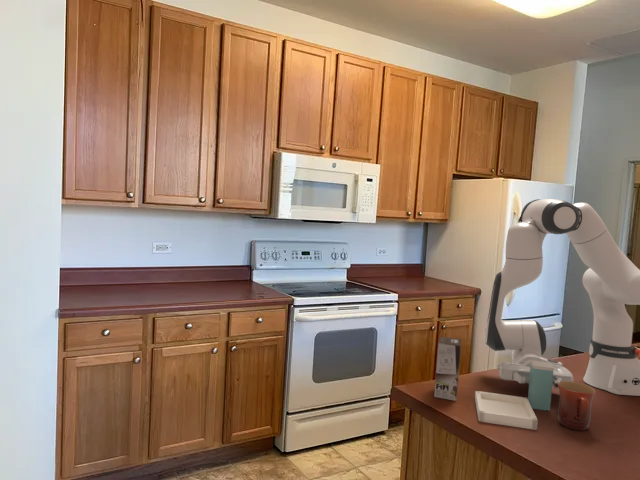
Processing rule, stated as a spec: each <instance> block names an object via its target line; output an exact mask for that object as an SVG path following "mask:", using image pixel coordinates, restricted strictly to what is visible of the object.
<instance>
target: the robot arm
mask: <svg viewBox="0 0 640 480" xmlns="http://www.w3.org/2000/svg"><path fill="white" fill-rule="evenodd" d="M517 222H518V223H517ZM517 222H516V223H513V225H511V226H510V227H509V228H508V229H507V234H506V240H505V241H506V242H505V262H504V265H503V267H502V269H501V271H500V272H498V273H496V275H495V277H494V280H493V285H492V291H491V295H490V297H491V298H490V304H489V309H488V315H487V321H486V324H485V327H484V333H483V338H484V341H485V345H486V346H487V347H488V348H490V349H492V350H493V351H495V352H500V351H501V352H502V351H508V350H509V351H512V353H511V362H510V361H502V362H500V364H497V365H496V369H498V371H499V378H500V379H502V380H507V381H513V382H514V381H515V382H518V383H519V384H522V385H524V384H528V385H529V379H530V367H531V363H530V362H531V361H539V362H547V363H550V364H551V365H552V366H553V367H554V371H553V381H552V387H553V388H554V389H559V388H558V383H559V382H562V381H571V382H574V375H573V374H572V372H571V371H570V370H569V369H568V368H567V367H565V366H563V362H560V361H557V360H552V359H548V358H546V357H543V355H544V354H545V352H546V350H547V337H546V332H545V329H544V327H543V326H542V325H541V323H539V322H538V321H537V320H534V319H533V320H532V319H531V320H530V319H519V320H516V319H515V320H513V319H512V320H503V319H502V317H503V310H504V304H505V298H506V297H507V295H508V294H509V293H512V292H513V291H514V290H517V289H519V288H522V287H525V286H527V285H530V284H532V283H533V282H535V281H536V280H537V279H538V278H539V277H540V276H541V274H542V272H543V263H544V262H543V261H544V258H543V242H544V240H545V238H546V236H547V235H548V234H553V235H563V234H566V235H567V236H568V238H569V241H570V242H571V245H572V246H573V248H574V249H575V251H576V252H577V255H578V256H579V258H580V260H581V261H582V263H583V264H584V265H585V266H586V267H588V268H587V270H585V272H584V273H583V276H582V285H583V288H584V289H585V291H586V292H587V294H588V296H589V299H590V303H591V307H592V312H593V326H592V327H593V328H592V337H591V338H592V339H590V343H589V349H588V350H589V352H588V355H589V361H588V364H587V368H586V372H585V375H584V376H583V378H582V380H583V382H584V383H586V385H588V386H590V387H593V388H596V389H600V390H603V391H607V392H609V393H612V394H615V395H622V396H637V397H638V396H639V397H640V359H639V358H638V357H637V356H639V357H640V348H637V347H635V346H634V345H632V342H633V331H634V322H633V319H632V318H631V316H630V315H629V314H628V312H627V309H626V305H627V306H628V305H630V306H631V305H632V306H633V305H634V306H636V305H637V306H638V305H639V306H640V268H638V267H637V266H636V265H635V264H634V263H633V262H632V260H630V259H629V258H628V256H627V255H626V254H625V253H624V252H623V251H622V250H621V249H620V247H619V246H618V245H617V243H616V241H615V239H614V238H613V236H612V234H611V232H610V231H609V229H608V227H607V225H606V224H605V222H604V221H603V219H602V218H601V216H600V215H599V213H597V211H596V210H595V209H594V207H592V206H591V205H590V204H589V203H588V202H576V203H571V202H569V201H567V200H564V199H555V198H544V199H543V198H542V199H537V198H536V199H534V200H531V201H529V202H527V203H526V204H525V205H524V207H523V208H522V211H521V212H520V216H519V218H518V221H517Z"/></svg>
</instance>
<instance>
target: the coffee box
mask: <svg viewBox="0 0 640 480" xmlns="http://www.w3.org/2000/svg"><path fill="white" fill-rule="evenodd" d="M437 346H438V347H437V353H436V354H437V356H436V357H437V358H436V366H435V367H436V370H435V381H434V385H435V386H434V393H433V395H434V398H437V399H444V400H450V401H453V402H455V401H457V397H458V392H459V391H458V389H459V380H460V368H461V366H460V365H461V352H462V338H456V337H447V336H440V337H439V340H438V343H437Z"/></svg>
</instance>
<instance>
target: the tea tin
mask: <svg viewBox="0 0 640 480" xmlns="http://www.w3.org/2000/svg"><path fill="white" fill-rule="evenodd" d="M530 363H531V367H530V379H529V384H528V393H527V394H528V395H527V399H528V401H529V403H530V405H531V407H532V409H534V410H540V411H546V410H548V411H549V412H550V411H551V402H552V391H553V390H552V389H553V386H552V381H553V371H554V367H553V366H552V365H551V364H550V363H547V362H539V361H531V362H530ZM548 411H547V412H548Z"/></svg>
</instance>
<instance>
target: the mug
mask: <svg viewBox="0 0 640 480" xmlns="http://www.w3.org/2000/svg"><path fill="white" fill-rule="evenodd" d="M557 389H558V391H559V401H558V402H559V403H558V411H557V414H558V417H557V418H558V422H559V423H560V425H561V426H563V427H565V428H567V429H570V430H572V431H585V430H587V429H589V427H590V423H591V416H592V402H593V399H594V397H595V395H596V393H597V391H596V389H595V387H593V386H591V385H589V384H585V383H580V382H577V381H573V382H571V381H562V382H559V383H558V388H557Z"/></svg>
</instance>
